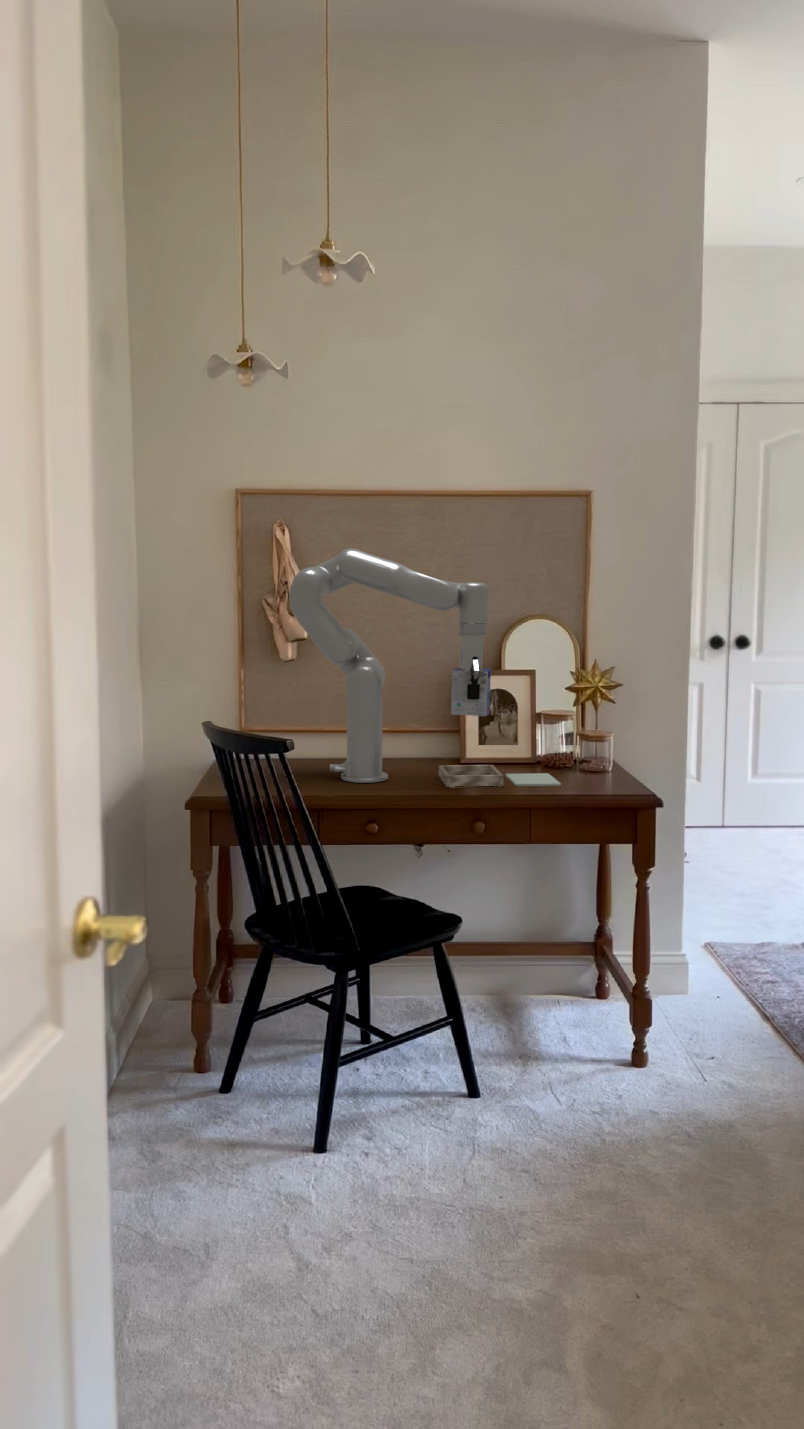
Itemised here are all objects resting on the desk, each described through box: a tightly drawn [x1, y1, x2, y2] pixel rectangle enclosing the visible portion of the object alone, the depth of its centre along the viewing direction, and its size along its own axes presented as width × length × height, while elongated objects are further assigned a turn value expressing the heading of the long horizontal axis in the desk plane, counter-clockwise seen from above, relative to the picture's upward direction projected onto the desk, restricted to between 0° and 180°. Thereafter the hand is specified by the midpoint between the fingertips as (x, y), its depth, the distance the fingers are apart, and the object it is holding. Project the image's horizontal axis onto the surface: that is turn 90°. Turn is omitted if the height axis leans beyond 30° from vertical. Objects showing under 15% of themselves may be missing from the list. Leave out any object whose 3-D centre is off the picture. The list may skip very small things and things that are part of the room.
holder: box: [438, 764, 504, 788], centre depth 293 cm, size 15×15×3 cm
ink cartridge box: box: [450, 667, 492, 717], centre depth 290 cm, size 10×6×14 cm, turn 79°
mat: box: [505, 772, 562, 787], centre depth 295 cm, size 12×14×1 cm
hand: (470, 697), depth 290 cm, fingers closed on ink cartridge box, 6 cm apart
